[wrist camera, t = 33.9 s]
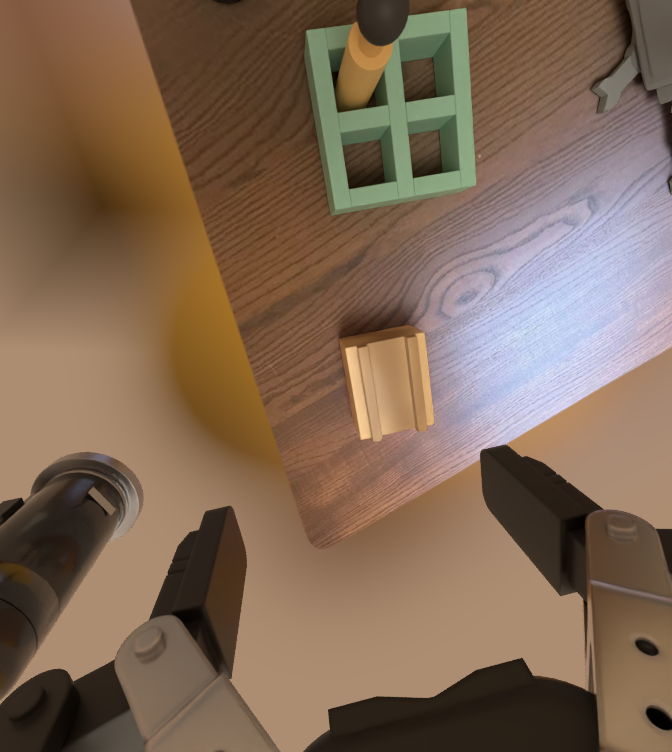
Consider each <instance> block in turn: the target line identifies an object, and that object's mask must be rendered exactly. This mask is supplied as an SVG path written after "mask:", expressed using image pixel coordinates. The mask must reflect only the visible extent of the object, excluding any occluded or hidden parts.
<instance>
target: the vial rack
mask: <svg viewBox="0 0 672 752" xmlns="http://www.w3.org/2000/svg"><path fill="white" fill-rule="evenodd" d="M353 25H354V24H349V25H342V26H335V27H328V28H319V29H312V30H306V39H305V52H304V60H305V66H306V72H307V78H308V84H309V90H310V96H311V102H312V108H313V114H314V120H315V126H316V132H317V138H318V144H319V150H320V156H321V162H322V168H323V174H324V180H325V186H326V192H327V198H328V204H329V210H330V215H331V216H332V215H338V214H343V213H349V212H354V211H360V210H366V209H371V208H377V207H383V206H387V205H394V204H400V203H405V202H411V201H417V200H422V199H428V198H434V197H439V196H444V195H451V194H456V193H459V192H462V191H464V190H466V189H469V188H471V187H473V186H476V170H475V153H474V135H473V118H472V101H471V83H470V66H469V48H468V31H467V13H466V8H461V9H454V10H446V11H439V12H432V13H425V14H418V15H411V16H408V20H407V23H406V26H405V28H404V30H403V32H402V33H401V35H400V36H399V37H398V38H397V39H396V40H395V41H394V42H393V49H392V54H391V56H390V59H389V61H388V63H387V65H386V67H385V69H384V71H383V73H382V75H381V77H380V79H379V81H378V83H377V85H376V87H375V89H374V96H375V104H376V107H372V108H366V109H359V110H353V111H347V112H340V113H337V108H336V101H335V94H334V88H333V81H332V74H331V72H338V71H340V67H341V63H342V59H343V56H344V52H345V48H346V44H347V40H348V37H349V33H350V30H351V28H352V26H353ZM432 57H433V63H434V75H435V87H436V98H430V99H423V100H417V101H411V102H406V103H405V98H404V89H403V79H402V69H401V62H405V61H412V60H418V59H425V58H432ZM434 130H439V137H440V149H441V161H442V173H440V174H434V175H429V176H423V177H417V178H413V176H412V166H411V157H410V147H409V137H408V135H410V134H416V133H422V132H428V131H434ZM379 139H380V145H381V153H382V161H383V169H384V177H385V183H382V184H377V185H371V186H365V187H359V188H353V189H349V188H348V181H347V174H346V168H345V161H344V154H343V148H342V146H343V145H350V144H356V143H362V142H368V141H374V140H379Z"/></svg>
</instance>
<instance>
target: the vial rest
mask: <svg viewBox="0 0 672 752" xmlns="http://www.w3.org/2000/svg"><path fill="white" fill-rule="evenodd" d="M339 345H340V350H341V356H342V362H343V367H344V373H345V379H346V384H347V390H348V395H349V401H350V407H351V412H352V418H353V422H354V425H355V427H356V429H357V432H358V434H359V436H360V439H361V440H363V439H368V438H372V440H373V442H375V441H380V440H382V435H386V434H390V433H395V432H400V431H404V430H409V429H413V428H416V429H417V431H418V432H421V431H426V430H428V428H427V425H432V424H434V416H433V407H432V397H431V388H430V379H429V369H428V360H427V350H426V341H425V332H423V331H421V330H419V329H417V328H415V327H413V326H411V325H405V326H400V327H395V328H390V329H385V330H380V331H374V332H369V333H364V334H359V335H354V336H349V337H344V338H339Z"/></svg>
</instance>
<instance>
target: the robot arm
mask: <svg viewBox="0 0 672 752" xmlns="http://www.w3.org/2000/svg"><path fill="white" fill-rule="evenodd" d="M480 462H481V476H482V491H483V496H484V500H485V502H486V505H487V507H488V508H489V510H490V511H491V513H492V514H493V515H494V516H495V517H496V518H497V520H498V521H499V522H500V524H501V525H502V526H503V527H504V528H505V530H506V531H507V532H508V533H509V534H510V536H511V537H512V538H513V539H514V541H515V542H516V543H517V544H518V545H519V547H520V548H521V549H522V550H523V551H524V553H525V554H526V555H527V556H528V557H529V559H530V560H531V561H532V562H533V564H534V565H535V566H536V567H537V568H538V570H539V571H540V572H541V573H542V574H543V575H544V577H545V578H546V579H547V581H548V582H549V583H550V584H551V585H552V586H553V588H554V589H555V590H556V591H557V592H558V594H559V595H560V596H563V595H566V594H570V593H574V592H578V593H579V594H580V596H581V597H582V598H583V627H584V628H583V629H584V659H585V689H583V688H581V687H578V686H575V685H573V684H570V683H568V682H565V681H561V680H557V679H554V678H548V677H541V676H533V675H532V673H531V671H530V670H529V668H528V666H527V665H526V663H525V661H524V660H523V658H521V659H516V660H513V661H509V662H505V663H501V664H498V665H494V666H490V667H486V668H482V669H479V670H476V671H474V672H472V673H471V674H469V675H468V676H466V677H465V678H463V679H461V680H460V681H458V682H457V683H456V684H454V685H452V686H451V687H449V688H447V689H446V690H444V691H443V692H441V693H440V694H438V695H436V696H434V697H431V698H407V697H378V696H377V697H373V698H369V699H366V700H362V701H358V702H355V703H351V704H347V705H344V706H340V707H336V708H332V709H329V710H328V713H329V724H330V730H328V731H327V732H325V733H324V734H322V735H321V736H320V737H318V738H317V739H316V740H315V741H314V742H312V743H311V744H310V745H309V746H308V747H307V748H306V749H305V750H304V751H303V752H672V529H655V528H654V527H653V526H652V525H650V524H649V523H648V522H647V521H645V520H643V519H642V518H640V517H638V516H636V515H633V514H630V513H627V512H623V511H618V510H604V509H603V508H601V507H600V506H599V505H597V504H596V503H595V502H593V501H592V500H591V499H590V498H588V497H587V496H586V495H584V494H583V493H582V492H580V491H579V490H578V489H577V488H575V487H574V486H573V485H571V484H570V483H567V482H566V480H565V479H564V478H562V477H561V476H560V475H557V474H556V472H555V471H553V470H552V469H551V468H549V467H548V466H547V465H545V464H544V463H542V462H540V461H537V460H535V459H532V458H530V457H527V456H525V457H521V456H520V455H518V454H517V453H516V452H515V451H513V450H512V449H511V448H510V447H508V446H507V445H501V446H496V447H492V448H488V449H483V450H482V451H481V453H480ZM127 509H128V503H127V498H126V495H125V493H124V491H123V489H122V488H121V486H120V485H119V484H118V483H117V482H116V481H115V480H114V479H112V478H111V477H109V476H108V475H106V474H104V473H101V472H99V471H96V470H92V469H83V468H79V469H71V470H67V471H64V472H61V473H59V474H57V475H56V476H54V477H53V478H52V479H51V480H50V481H49V482H47V483H46V484H45V486H44V487H43V488H42V489H38V490H36V491H35V492H34V493H33V494H32V495H30V496H29V497H28V498H27V499H26V500H25V501H23V499H22V498H17V499H13V500H8V501H4V502H2V503H1V504H0V700H1V699H2V698H3V697H5V695H7V694H8V693H9V692H10V691H11V689H12V688H13V687H14V685H15V684H16V683H17V681H18V680H19V679H20V677H21V676H22V674H23V672H24V671H25V669H26V668H27V666H28V665H29V663H30V662H31V660H32V658H33V657H34V655H35V654H36V652H37V651H38V649H39V648H40V646H41V645H42V643H43V642H44V640H45V639H46V637H47V635H48V634H49V632H50V631H51V629H52V628H53V626H54V625H55V623H56V621H57V620H58V618H59V617H60V615H61V614H62V612H63V611H64V609H65V608H66V606H67V605H68V603H69V601H70V600H71V598H72V597H73V595H74V594H75V592H76V591H77V589H78V588H79V586H80V585H81V583H82V582H83V580H84V578H85V577H86V575H87V574H88V572H89V571H90V569H91V568H92V566H93V565H94V563H95V562H96V560H97V558H98V557H99V555H100V554H101V552H102V551H103V549H104V547H105V546H106V545H107V543H108V542H109V540H110V539H111V537H112V536H113V534H114V532H115V531H116V530H117V529H118V527H119V526H120V525H121V523H122V522H123V520H124V518H125V516H126V514H127ZM172 562H173V563H172V564H171V565H170V568H169V570H168V576H166V578H165V581H164V583H163V586H162V588H161V591H160V593H159V596H158V598H157V601H156V604H155V606H154V608H153V611H152V614H151V616H150V619H149V621H147V622H145V623H144V624H142V625H141V626H139V627H138V628H137V629H135V630H134V631H133V632H132V633H131V634H130V635H129V636H128V637H127V638H126V640H125V641H124V642H123V644H122V645H121V647H120V649H119V650H118V652H117V655H116V658H115V660H113V661H111V662H110V663H108V664H106V665H104V666H102V667H100V668H99V669H96V670H95V671H93V672H91V673H89V674H87V675H85V676H83V677H81V678H79V679H77V680H76V681H74V682H73V680H72V679H71V677H70V675H69V674H68V672H67V671H65V670H62V669H53V670H49V671H46V672H43V673H41V674H39V675H37V676H35V677H33V678H31V679H30V680H28V681H27V682H25V683H24V684H22V685H21V686H20V687H18V688H17V689H16V690H15V691H13V692H12V693H11V694H10V695H9V696H8V697H7V698H6V699H5V700H4V701H3V702H2V703H1V705H0V752H280V751H279V749H278V748H277V746H276V745H275V744H274V742H273V741H272V739H271V738H270V736H269V735H268V734H267V732H266V731H265V729H264V728H263V727H262V725H261V724H260V722H259V721H258V720H257V718H256V717H255V715H254V714H253V713H252V711H251V710H250V708H249V707H248V705H247V704H246V703H245V701H244V700H243V699H242V697H241V696H240V694H239V693H238V692H237V690H236V689H235V687H234V686H233V685H232V683H231V682H230V680H229V679H231V678H232V670H233V663H234V655H235V649H236V641H237V634H238V626H239V619H240V612H241V605H242V597H243V590H244V582H245V575H246V568H247V558H246V550H245V546H244V542H243V539H242V536H241V532H240V529H239V526H238V523H237V519H236V516H235V513H234V510H233V508H232V507H231V506H227V507H222V508H218V509H213V510H209V511H206V512H205V514H204V517H203V519H202V522H201V525H200V528H199V530H197V531H193V532H190V533H189V534H188V535H187V536H186V538H184V540H183V541H182V542H181V543H180V544H179V546H178V547H177V550H176V552H175V555H174V558H173V560H172Z"/></svg>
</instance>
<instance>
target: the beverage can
mask: <svg viewBox="0 0 672 752" xmlns="http://www.w3.org/2000/svg"><path fill="white" fill-rule="evenodd" d="M215 1H218V2H223V3H230V2H235V1H238V0H215Z"/></svg>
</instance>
